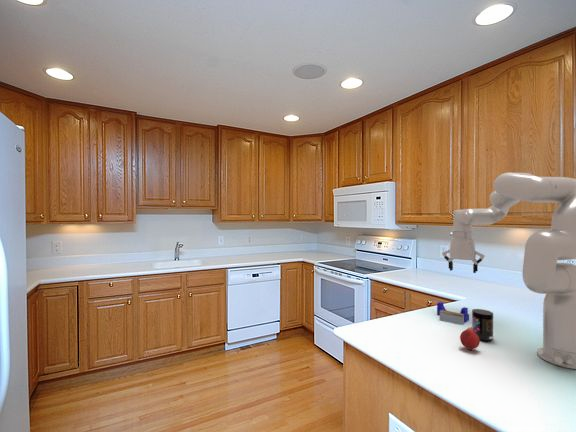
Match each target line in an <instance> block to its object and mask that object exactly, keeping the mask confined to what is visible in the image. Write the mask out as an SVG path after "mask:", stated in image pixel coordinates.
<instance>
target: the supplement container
mask: <svg viewBox="0 0 576 432" xmlns="http://www.w3.org/2000/svg"><path fill="white" fill-rule="evenodd" d="M471 311H472V312H471V313H472V314H471V315H472V318H471V319H472V320H471V321H472V322H471V324H472V325H471V328H472V330H473V331H474V332H475V333H476V334H477V335H478V337H479V339H480V342H481V343H491V342H493V341H494V312H492V311H490V310H487V309H483V308H482V309H481V308H473V309H472V310H471Z"/></svg>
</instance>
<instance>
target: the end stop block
mask: <svg viewBox="0 0 576 432" xmlns="http://www.w3.org/2000/svg"><path fill="white" fill-rule="evenodd" d="M446 310H447V309H446ZM446 310H440V316H439V321H442V322H446V323H447V322H448V323H452V324H456V325H461V326H464V324H465V322H464V314H461V313H460V312H456V311H450V310H447V311H446Z"/></svg>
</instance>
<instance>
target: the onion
mask: <svg viewBox="0 0 576 432" xmlns="http://www.w3.org/2000/svg"><path fill="white" fill-rule="evenodd" d="M459 339H460V343H461V345H462V346H463V347H464V348H466V349H467V350H468V351H473V350H474V349H477V348H478V347H479V345H480V343H481V341H480V339H479V337H478V335H477V334H476V333H475V332H474V331H473V330H472V326H469V327H468V328H466V329H465V330H463V331H462V332H461V333H460V335H459Z"/></svg>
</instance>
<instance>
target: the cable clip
mask: <svg viewBox="0 0 576 432" xmlns="http://www.w3.org/2000/svg"><path fill="white" fill-rule="evenodd" d="M468 309H469V308H468V307H465V306H463V307H461V310H460V312H459V313H461V314H464V323H467V322H468V321H470V314H469V310H468ZM440 310H446V311H448V310H447V308H446V307H445V305H444V302H442V301H438V302H436V315H437V316H439V317H440Z"/></svg>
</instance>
